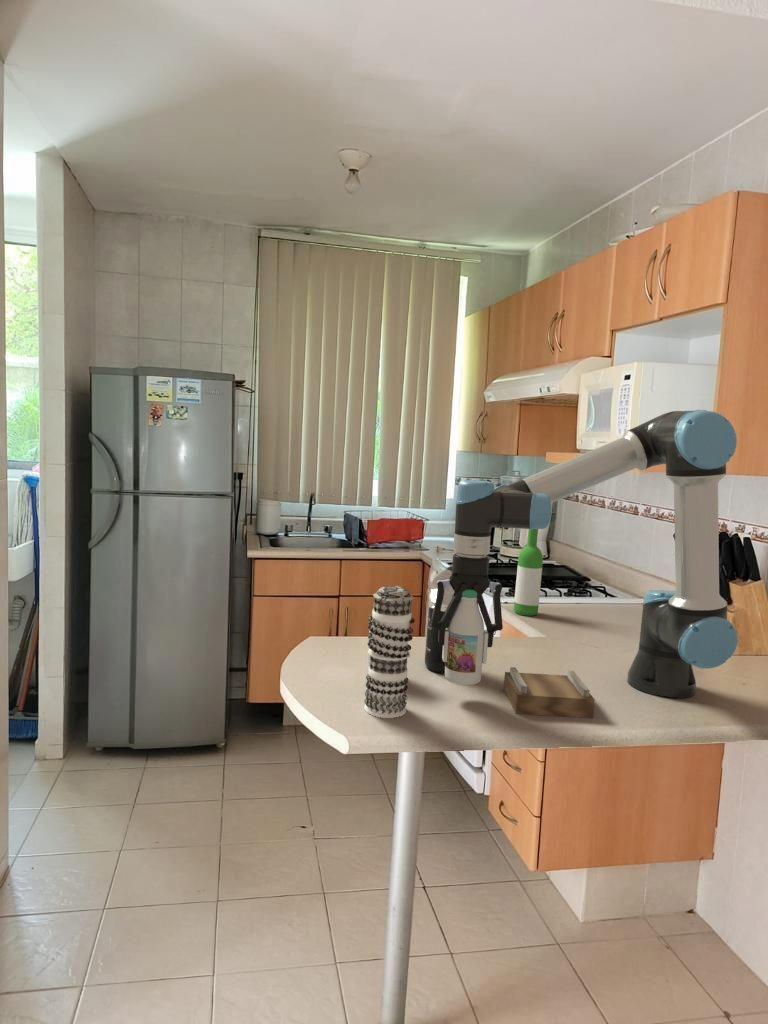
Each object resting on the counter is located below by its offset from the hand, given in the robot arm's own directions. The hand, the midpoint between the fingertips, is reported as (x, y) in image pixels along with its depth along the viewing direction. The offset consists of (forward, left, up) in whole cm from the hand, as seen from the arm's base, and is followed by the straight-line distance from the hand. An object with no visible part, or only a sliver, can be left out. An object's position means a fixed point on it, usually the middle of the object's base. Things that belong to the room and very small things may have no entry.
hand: (464, 660), depth 155 cm
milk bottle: (0, 0, -4) cm, 4 cm away
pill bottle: (+16, -11, -9) cm, 22 cm away
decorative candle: (+16, +8, -9) cm, 20 cm away
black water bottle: (+1, -20, -9) cm, 22 cm away
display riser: (-19, -1, -9) cm, 21 cm away
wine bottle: (-31, -79, -9) cm, 85 cm away
